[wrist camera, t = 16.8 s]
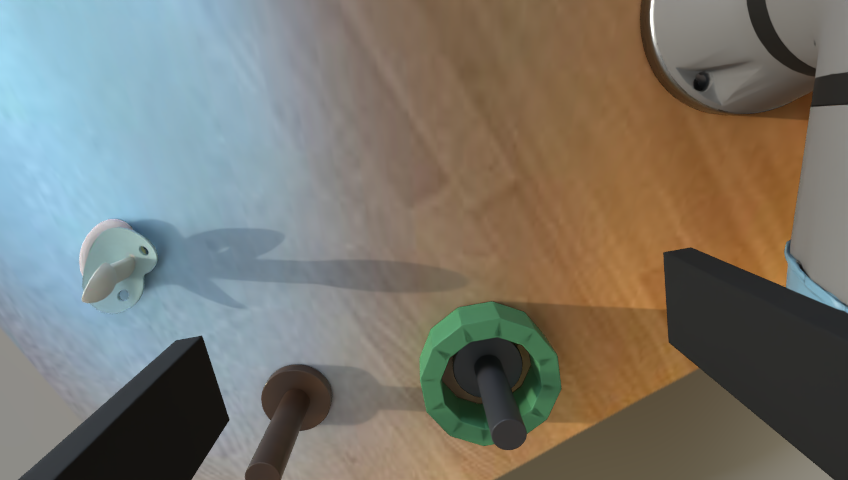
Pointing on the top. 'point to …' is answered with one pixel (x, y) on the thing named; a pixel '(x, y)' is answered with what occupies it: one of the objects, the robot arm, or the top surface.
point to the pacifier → (114, 265)
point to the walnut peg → (288, 416)
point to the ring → (479, 325)
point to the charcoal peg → (493, 386)
